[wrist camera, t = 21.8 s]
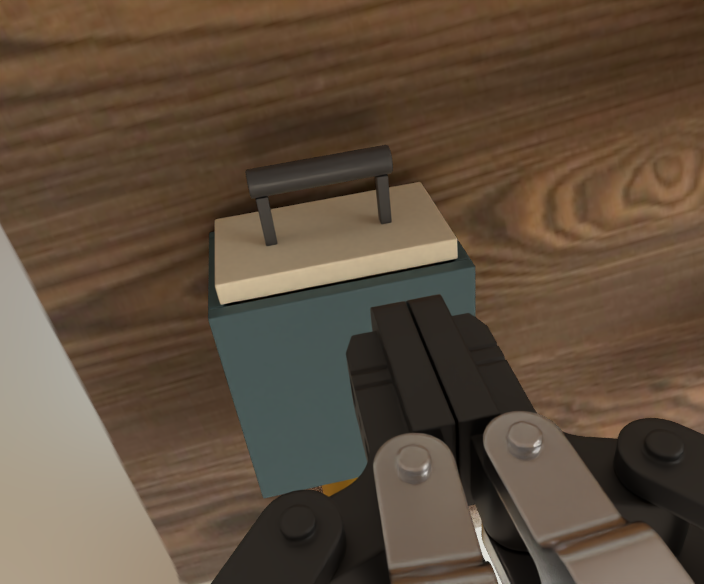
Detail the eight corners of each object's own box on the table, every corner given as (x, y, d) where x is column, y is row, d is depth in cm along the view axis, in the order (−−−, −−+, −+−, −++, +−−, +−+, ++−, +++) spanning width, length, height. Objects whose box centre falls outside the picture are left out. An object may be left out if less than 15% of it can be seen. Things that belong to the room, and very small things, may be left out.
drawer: (195, 150, 33) (192, 208, 28) (417, 111, 34) (456, 160, 29) (258, 382, 43) (264, 459, 37) (429, 346, 44) (460, 417, 38)
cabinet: (208, 231, 37) (207, 319, 30) (427, 191, 38) (475, 266, 31) (255, 399, 45) (263, 499, 38) (435, 361, 46) (475, 452, 39)
